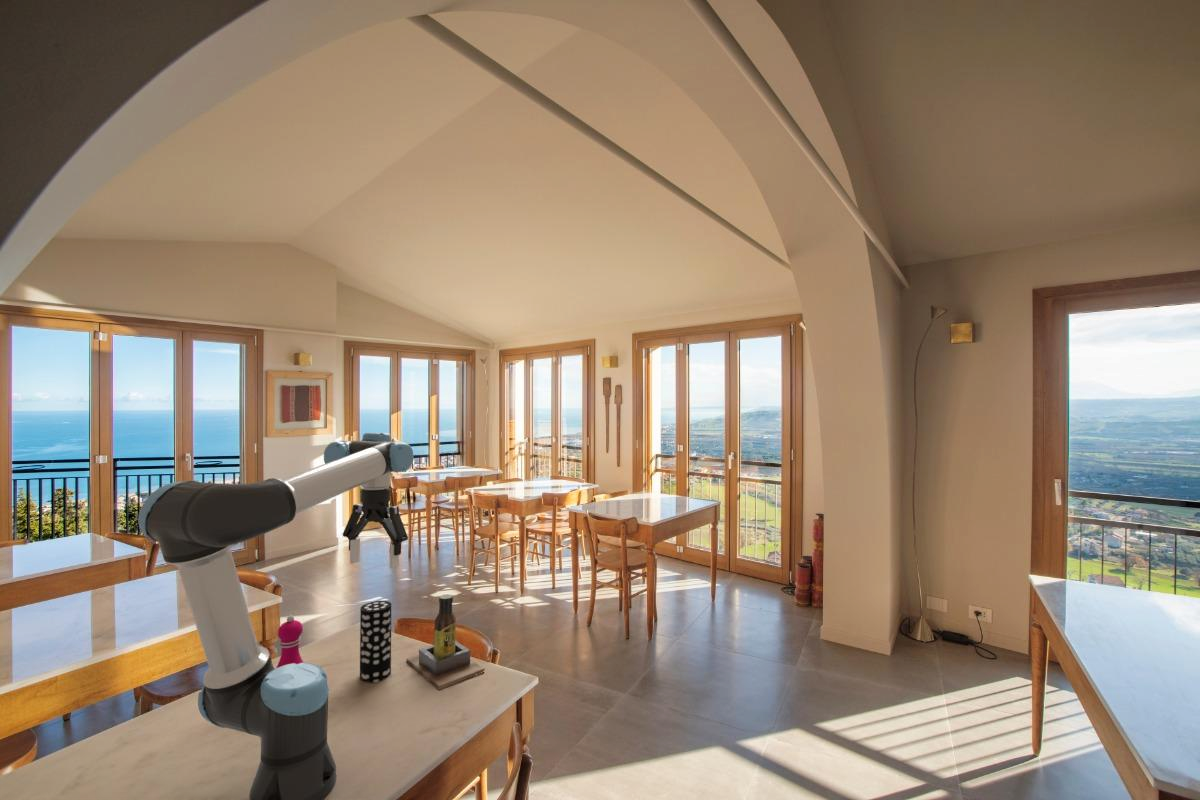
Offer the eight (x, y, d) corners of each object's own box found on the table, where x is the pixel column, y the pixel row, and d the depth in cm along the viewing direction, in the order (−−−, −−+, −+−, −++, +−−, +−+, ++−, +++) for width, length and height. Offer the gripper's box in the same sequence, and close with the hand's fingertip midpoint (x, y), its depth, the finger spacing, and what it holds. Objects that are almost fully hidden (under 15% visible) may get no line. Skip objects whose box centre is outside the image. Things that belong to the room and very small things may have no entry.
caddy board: (484, 672, 153) (484, 668, 153) (439, 689, 144) (439, 685, 144) (448, 647, 169) (448, 644, 169) (406, 661, 160) (406, 658, 160)
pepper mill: (290, 696, 140) (291, 621, 140) (267, 693, 142) (268, 619, 142) (310, 683, 147) (311, 611, 148) (288, 680, 149) (289, 609, 149)
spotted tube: (359, 671, 153) (360, 603, 154) (390, 666, 157) (390, 599, 157) (359, 685, 146) (360, 613, 146) (391, 678, 149) (392, 608, 150)
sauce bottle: (445, 670, 152) (446, 601, 153) (428, 666, 155) (429, 598, 155) (459, 660, 158) (460, 594, 159) (443, 656, 161) (443, 591, 161)
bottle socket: (470, 663, 156) (470, 650, 156) (435, 676, 149) (435, 662, 149) (452, 651, 164) (452, 638, 164) (418, 663, 157) (419, 649, 157)
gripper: (422, 488, 145) (420, 565, 144) (350, 484, 153) (348, 557, 152) (404, 491, 138) (402, 572, 137) (330, 487, 146) (328, 564, 145)
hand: (374, 564), depth 145 cm, fingers open, 13 cm apart
